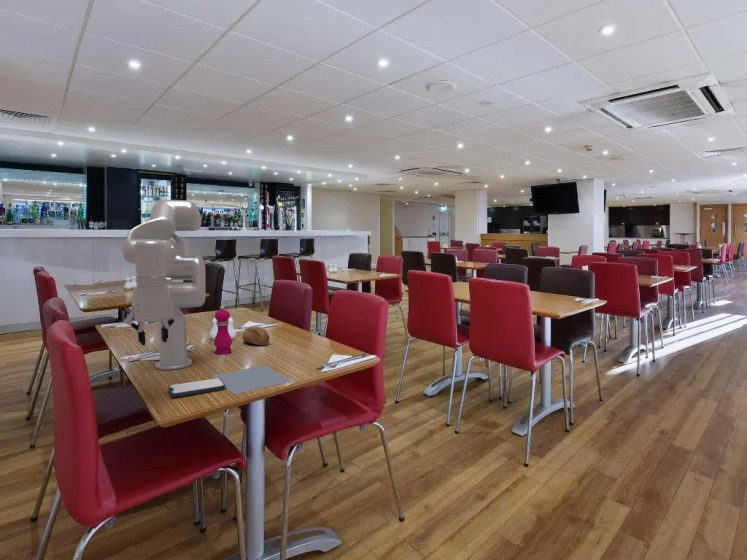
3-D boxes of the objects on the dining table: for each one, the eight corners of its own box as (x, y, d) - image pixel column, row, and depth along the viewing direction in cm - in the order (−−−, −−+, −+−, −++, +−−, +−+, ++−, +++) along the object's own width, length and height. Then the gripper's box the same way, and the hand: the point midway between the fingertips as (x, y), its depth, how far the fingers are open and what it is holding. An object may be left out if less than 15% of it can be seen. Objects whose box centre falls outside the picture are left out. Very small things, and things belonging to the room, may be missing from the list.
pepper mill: (234, 353, 178) (233, 306, 176) (217, 355, 174) (215, 307, 172) (229, 349, 184) (228, 304, 182) (212, 352, 179) (210, 305, 177)
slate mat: (211, 376, 149) (211, 375, 149) (264, 365, 162) (264, 365, 162) (234, 394, 132) (234, 394, 132) (291, 381, 145) (291, 381, 145)
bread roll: (257, 348, 186) (257, 331, 185) (236, 343, 195) (236, 326, 194) (274, 344, 193) (274, 327, 193) (253, 339, 202) (253, 323, 201)
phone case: (219, 382, 144) (167, 390, 135) (219, 377, 143) (167, 385, 135) (226, 390, 136) (171, 399, 128) (226, 385, 136) (171, 394, 127)
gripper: (178, 279, 133) (180, 336, 134) (115, 283, 122) (118, 344, 124) (185, 282, 127) (187, 341, 129) (119, 285, 116) (123, 350, 118)
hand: (153, 342), depth 126 cm, fingers open, 5 cm apart
